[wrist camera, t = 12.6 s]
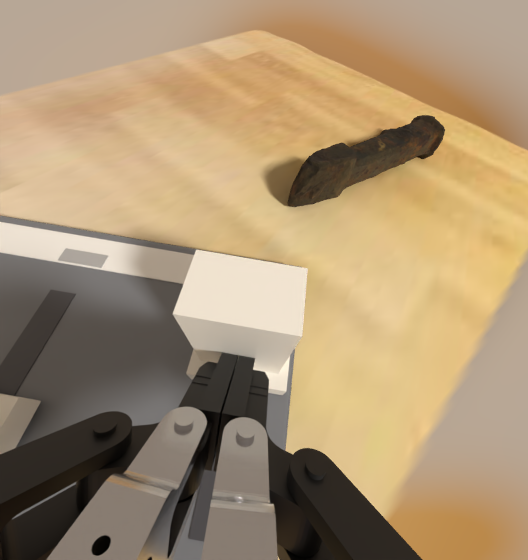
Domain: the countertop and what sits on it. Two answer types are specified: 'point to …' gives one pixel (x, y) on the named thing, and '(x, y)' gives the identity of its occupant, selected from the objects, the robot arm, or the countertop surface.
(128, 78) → the countertop surface
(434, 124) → the hand tool
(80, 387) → the switch bank
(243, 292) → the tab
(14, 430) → the middle tab
